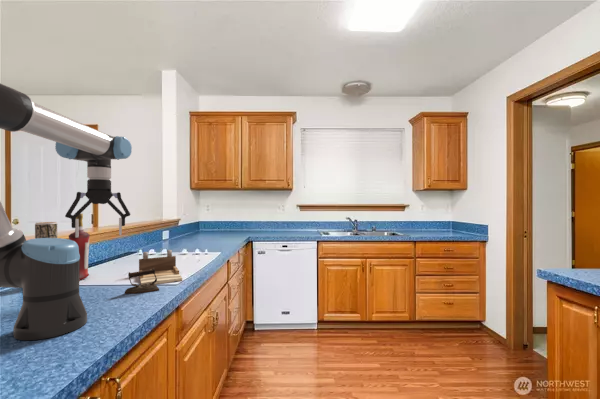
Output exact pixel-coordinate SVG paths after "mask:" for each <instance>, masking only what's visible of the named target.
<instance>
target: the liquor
mask: <svg viewBox="0 0 600 399" xmlns="http://www.w3.org/2000/svg"><path fill="white" fill-rule="evenodd" d="M76 219H78V237H76V238H75V231H74V232H72V233H70V234H69V235H68V239H69V240H72V241H75V242H76V243H77V244H78V247H79V254H80V269H79V281H82V279H83V280H86V279H87V278H88V277H89V276H90V274H89V255H90V254H89V252H90V236H91V235H90V233H88V232H87V231H84V224H83V219H84V213H80V214H79V215H78V216H77V217H76ZM85 278H86V279H85Z"/></svg>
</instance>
